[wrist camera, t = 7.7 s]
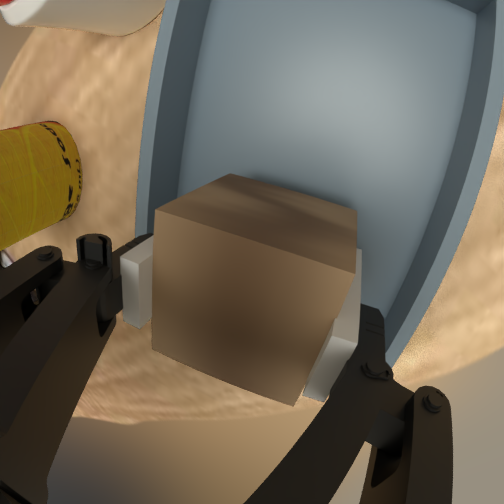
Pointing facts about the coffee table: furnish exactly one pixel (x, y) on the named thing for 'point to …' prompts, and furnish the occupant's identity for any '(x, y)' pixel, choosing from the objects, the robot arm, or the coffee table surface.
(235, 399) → the coffee table surface
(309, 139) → the blue-grey tray
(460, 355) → the coffee table surface
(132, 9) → the pill bottle
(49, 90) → the coffee table surface
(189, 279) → the walnut cube
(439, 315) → the coffee table surface
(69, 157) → the beverage can
